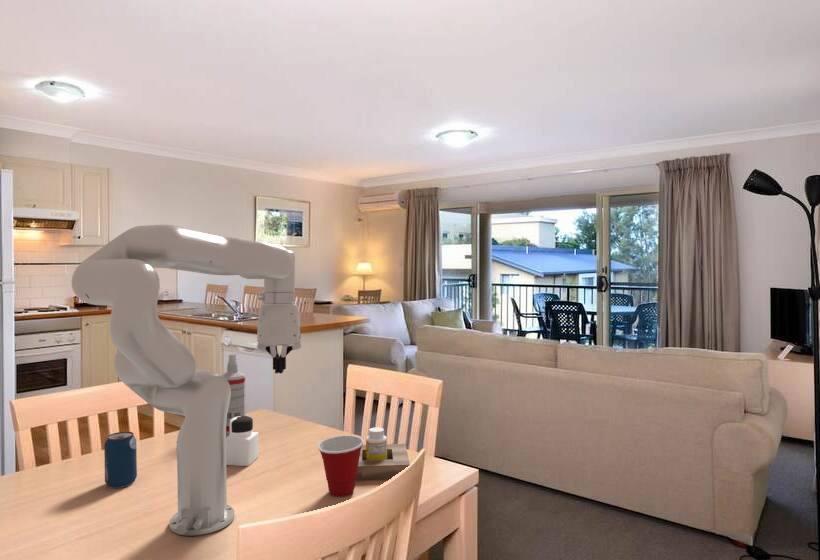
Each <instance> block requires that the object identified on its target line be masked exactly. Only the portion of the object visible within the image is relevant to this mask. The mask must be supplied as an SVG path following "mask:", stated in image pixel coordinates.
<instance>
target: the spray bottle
mask: <svg viewBox="0 0 820 560" xmlns="http://www.w3.org/2000/svg"><path fill="white" fill-rule="evenodd" d="M226 368H227V369H226V372H225V373H223V374H221V375H222V376H224V377H225V378H226V379H227V381H228V382H229V385H230V389H231V397H230V403H229V407H228V413H227V421H226V435H230V420H231V419H232V418H234V417H238V416H247V415H246V410H247V409H246V373H243V372H241V371H239V365H238V361H237V353H231V354H228V361H227V367H226Z"/></svg>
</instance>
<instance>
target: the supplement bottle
mask: <svg viewBox="0 0 820 560" xmlns="http://www.w3.org/2000/svg"><path fill="white" fill-rule="evenodd" d="M387 444H388V438H387V436H386V435H385V429H384V428H382V427H378V426H377V427H372V428H369V429H368V435H367V436H366V438H365V445H366V460H387Z"/></svg>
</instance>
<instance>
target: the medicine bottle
mask: <svg viewBox="0 0 820 560" xmlns="http://www.w3.org/2000/svg"><path fill="white" fill-rule="evenodd" d="M253 422H254V420H253V417H252V416H247V415H246V416H238V417H234V418H232V419H231V420H230V434H228V435H227V436H226V466H237V467H238V466H239V467H240V466H241V467H249V466H250V465H251V464H252V463H254V462H255V461H256V460H257V459H258V458H259V456H260V455H259V454H260V451H259V446H260V445H259V443H260V442H259V440H260V439H259V432H258V431H253V430H254V429H253V428H254V427H253V426H254V424H253Z"/></svg>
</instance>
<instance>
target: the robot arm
mask: <svg viewBox="0 0 820 560" xmlns="http://www.w3.org/2000/svg"><path fill="white" fill-rule="evenodd" d="M156 269H166V270H168V269H171V270H174V271H175V270H176V271H184V272H191V273H199V274H203V275H209V276H210V275H211V276H240V277H241V278H243V279H247V280H263V285H264V287H263V293H261V294H258V295H257V299H258V301H262V302H263V304H260V307H259V311H258V312H259V313H258V319H257V320H258V322H257V334H256V335H257V337H256V338H257V339H256V340H257V345H256V347H257V350H258V349H259V350H263V351H266V352H267V353H268V354H269V355H270V356H271V358H272V371H273V370H274V373H275V374H283V373H284V370H286V369H287V355H289V354H290V353H291V352H292V351H296V350H299V349H301V348H302V343H301V334H302V333H301V321H300V319H301V318H300V310H299V306H298V304H296V256H295V253H294V252H293V250H288V249H286V248H285V247H284V246H279V245H275V244H271V243H267V242H260V241H256V240H249V239H241V238H238V237H237V238H236V237H230V236H225V235H217V234H213V233H209V232H204V231H200V230H195V229H192V228H187V227H183V226H178V225H173V224H153V225H151V224H149V225H148V224H147V225H137V226H134V227H130V228H129V229H127V230H124V232H123V233H120V234H119V235H117V236H116V237H114V238H113V239H112V240H110V241H109V242H107V243H106V244H105V245H103V246H102V247H101V248H99V249H98V250H97V251H95V252H94V253H92V254H90V256H88V257H86V258H85V259H84V260H83V261H81V262H80V264H79V265H78V266H77V267H76V268H75V270H74V272H73V274H72V276H71V289H72V291H73V293H74V295H75V296H76V297H77V298H78V299H79V300H81V301H82V302H84V303H86V304H88V305H94V306H110V307H111V312H110V320H109V335H110V340H111V341H112V344H113V345H114V346H115V348H116V349H117V350H116V352H115V354H114V359H113V360H114V362H113V366H114V370H115V373H116V375H117V378H118V379H119V380H120V381H121V382H122V383H123V384H124V385H125V386H126V387H128V388H129V390H131V391H132V392H133V393H134V394H135V395H137V396H138V397H139V398H141V399H143V401H145V402H146V403H147V404H148V405H150V406H151V407H153V408H154V409H156V410H158V411H161V412H164V413H169V414H175V415H180V416H184V420H183V423H182V424H181V427H180V429H179V431H178V433H177V439H176V453H177V454H176V456H177V457H176V458H177V460H176V461H177V464H176V466H177V467H176V468H177V475H176V476H177V512H176V513H174V514H173V515H172V517H171V518H170V519H169V529H170V530H171V531H172V532H173V533H175V534H177V535H178V536H179V535H180V536H181V535H182V536H187V537H189V536H190V537H191V536H193V537H194V536H201V535H208V534H211V533H214V532H217V531H219V530H222V529H224V528H225V527H227V526H229V525H230V524H231V523H232V522H233V521H234V519H235V509H234V508H233V507H232V506H230V505H228V504H227V502H228V501H227V499H228V498H227V491H228V490H227V465H226V437H227V434H226V421H227V413H228V407H229V403H230V397H231V389H230V385H229V382H228V381H227V379H226V378H225V377H224V376H222V374H221V373H220V372H215V371H213V370H208V369H198V368H197V362H196V358H195V356H194V355H193V353H192V352H191V350H190V349H188V347H187V346H186V345H185V344H184V343H183V342H182V341H180V339H178V337H176V335H174V334H173V332H171V330H170V329H168V328H167V326H166V325H165V324H164V323H163V322H162V320H161V318H159V314H158V300H159V295H160V289H161V288H160V287H161V286H160V285H161V283H160V278H159V274H158V272H157V271H156ZM278 346H281V352H280V354H279V352H278V351H279V350H278Z"/></svg>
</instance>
